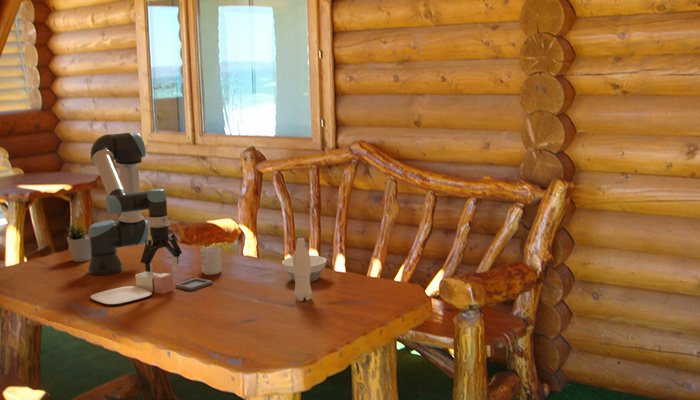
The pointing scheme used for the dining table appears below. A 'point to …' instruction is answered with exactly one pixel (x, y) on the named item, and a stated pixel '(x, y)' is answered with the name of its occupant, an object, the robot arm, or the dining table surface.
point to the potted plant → (79, 244)
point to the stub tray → (193, 284)
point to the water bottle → (302, 271)
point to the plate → (121, 295)
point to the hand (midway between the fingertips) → (163, 275)
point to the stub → (163, 283)
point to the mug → (211, 260)
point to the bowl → (315, 264)
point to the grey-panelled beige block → (145, 281)
